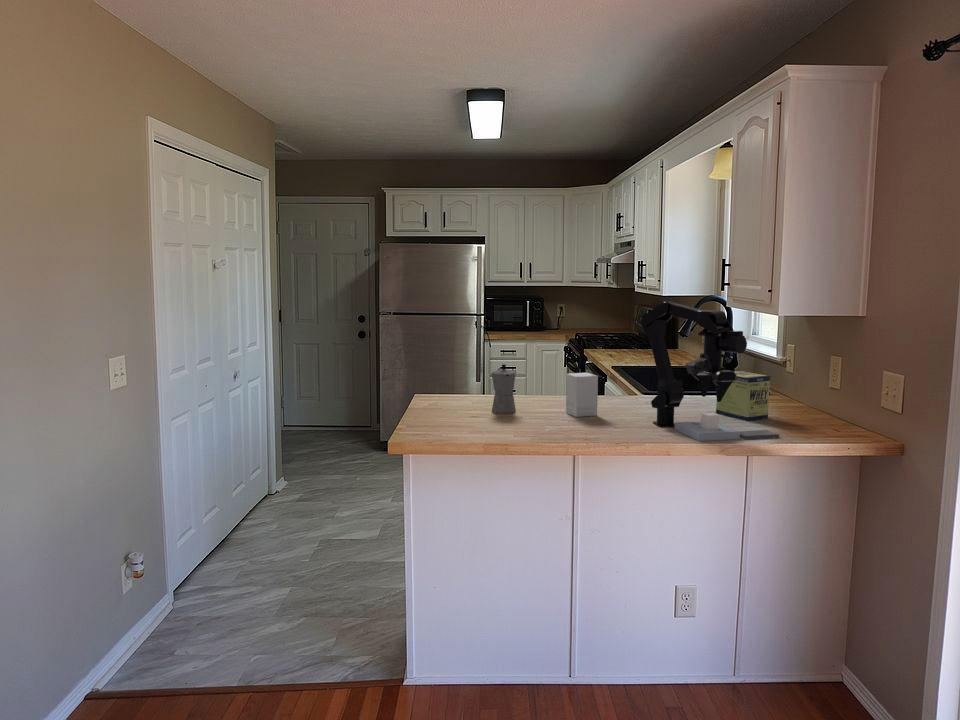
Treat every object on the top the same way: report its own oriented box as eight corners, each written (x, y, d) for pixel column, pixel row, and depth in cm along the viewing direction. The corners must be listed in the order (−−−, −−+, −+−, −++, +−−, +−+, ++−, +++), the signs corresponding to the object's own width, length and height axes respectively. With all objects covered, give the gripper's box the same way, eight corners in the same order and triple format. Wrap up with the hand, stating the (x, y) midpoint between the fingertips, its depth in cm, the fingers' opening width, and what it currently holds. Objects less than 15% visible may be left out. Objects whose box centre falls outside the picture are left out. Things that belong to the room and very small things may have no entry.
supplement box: (598, 415, 252) (598, 375, 251) (575, 417, 250) (576, 376, 248) (586, 411, 261) (587, 372, 259) (565, 412, 258) (565, 373, 256)
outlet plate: (674, 429, 230) (674, 422, 230) (712, 427, 233) (713, 420, 233) (698, 441, 215) (699, 433, 215) (739, 438, 218) (739, 430, 217)
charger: (700, 434, 224) (701, 413, 223) (712, 433, 224) (712, 412, 224) (706, 437, 220) (707, 415, 219) (718, 436, 221) (719, 415, 220)
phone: (733, 434, 223) (733, 431, 223) (766, 432, 225) (766, 429, 225) (744, 439, 217) (744, 436, 216) (778, 437, 219) (779, 434, 219)
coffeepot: (520, 414, 255) (520, 366, 253) (495, 415, 253) (495, 367, 251) (510, 406, 270) (510, 361, 268) (486, 407, 268) (486, 361, 266)
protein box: (747, 421, 242) (749, 377, 240) (715, 413, 256) (716, 371, 254) (769, 418, 247) (771, 375, 245) (736, 410, 261) (737, 370, 259)
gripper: (675, 348, 226) (674, 395, 228) (704, 354, 208) (702, 405, 210) (706, 347, 228) (705, 393, 230) (738, 353, 210) (736, 404, 212)
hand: (711, 399), depth 221 cm, fingers open, 9 cm apart
